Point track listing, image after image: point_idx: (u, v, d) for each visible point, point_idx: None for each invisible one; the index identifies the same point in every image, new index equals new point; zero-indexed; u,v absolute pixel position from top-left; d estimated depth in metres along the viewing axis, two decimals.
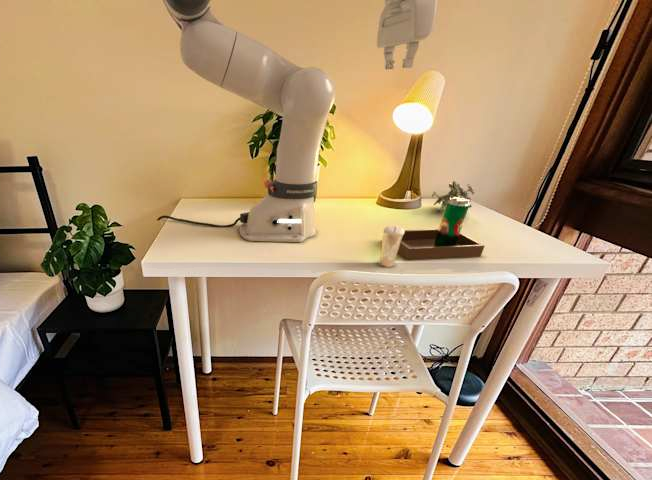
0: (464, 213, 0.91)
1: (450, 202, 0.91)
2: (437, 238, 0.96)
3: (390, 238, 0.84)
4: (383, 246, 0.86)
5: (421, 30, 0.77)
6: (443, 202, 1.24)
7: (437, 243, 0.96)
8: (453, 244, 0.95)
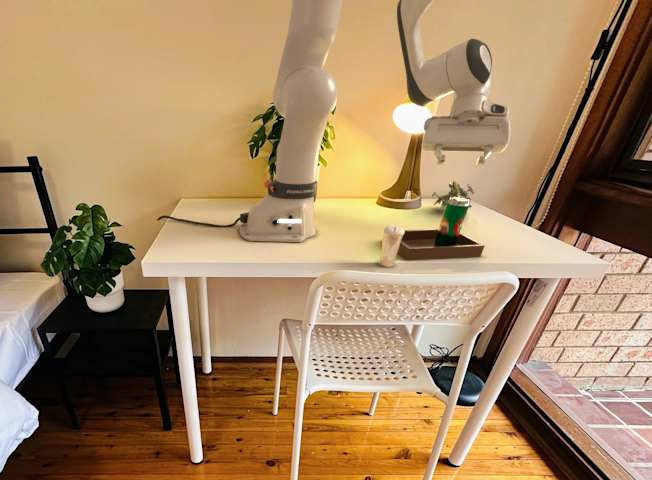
0: (464, 213, 0.91)
1: (450, 202, 0.91)
2: (437, 238, 0.96)
3: (390, 238, 0.84)
4: (383, 246, 0.86)
5: None
6: (443, 202, 1.24)
7: (437, 243, 0.96)
8: (453, 244, 0.95)
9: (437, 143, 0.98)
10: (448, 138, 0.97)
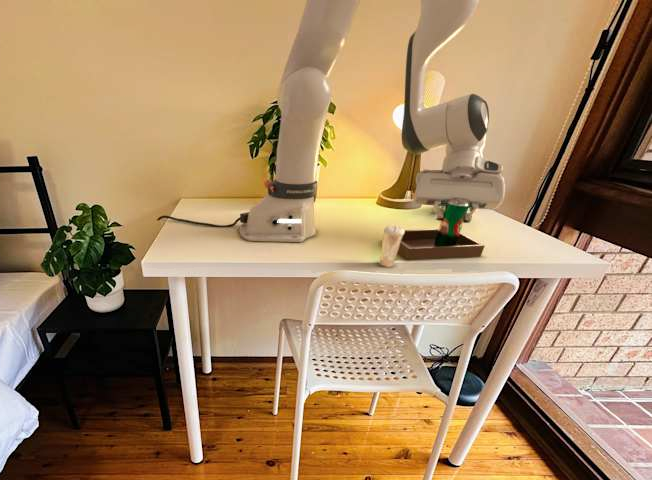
0: (464, 213, 0.91)
1: (450, 202, 0.91)
2: (437, 238, 0.96)
3: (390, 238, 0.84)
4: (383, 246, 0.86)
5: None
6: None
7: (437, 243, 0.96)
8: (453, 244, 0.95)
9: (429, 198, 0.94)
10: (440, 194, 0.93)
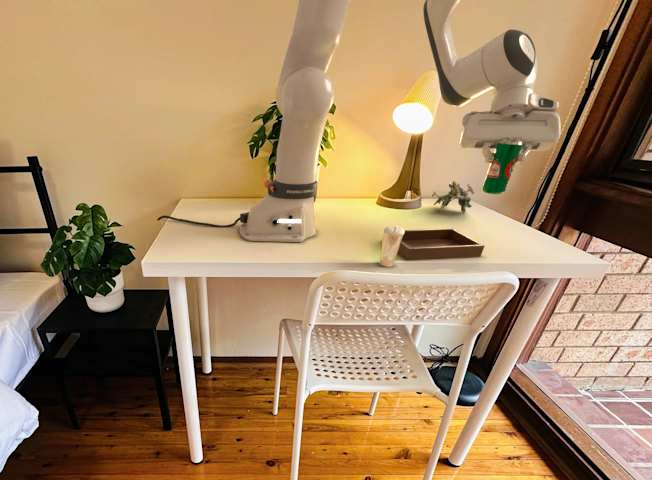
0: (518, 153, 0.86)
1: (502, 141, 0.86)
2: (486, 183, 0.92)
3: (390, 238, 0.84)
4: (383, 246, 0.86)
5: None
6: (443, 202, 1.24)
7: (486, 188, 0.92)
8: (503, 188, 0.91)
9: (478, 140, 0.90)
10: (491, 134, 0.89)
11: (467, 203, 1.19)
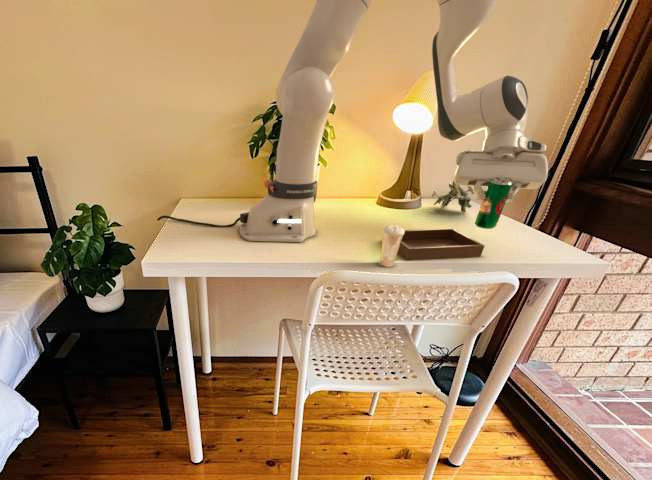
0: (508, 192, 0.92)
1: (493, 181, 0.92)
2: (478, 218, 0.98)
3: (390, 238, 0.84)
4: (383, 246, 0.86)
5: None
6: (443, 202, 1.24)
7: (478, 223, 0.98)
8: (494, 223, 0.96)
9: (471, 178, 0.96)
10: (483, 173, 0.95)
11: (467, 203, 1.19)
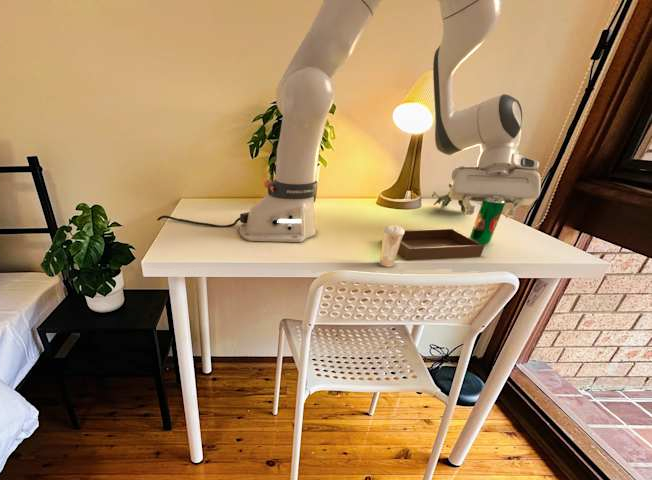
0: (501, 210, 0.94)
1: (487, 199, 0.95)
2: (472, 234, 1.00)
3: (390, 238, 0.84)
4: (383, 246, 0.86)
5: None
6: (443, 202, 1.24)
7: None
8: (488, 240, 0.99)
9: (466, 194, 0.98)
10: (477, 189, 0.97)
11: None
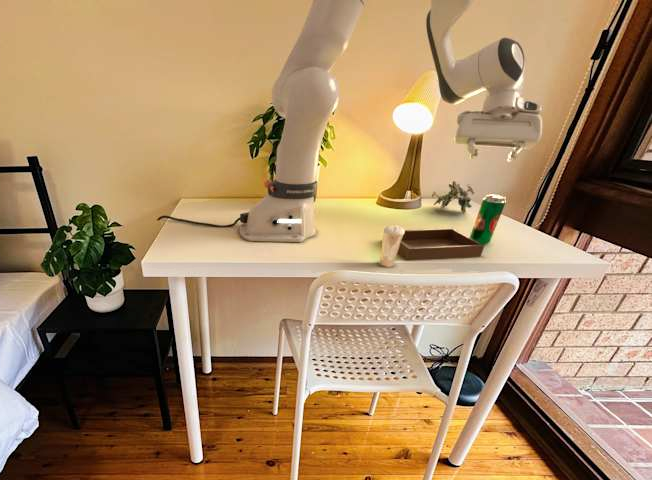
0: (501, 210, 0.94)
1: (487, 199, 0.95)
2: (472, 234, 1.00)
3: (390, 238, 0.84)
4: (383, 246, 0.86)
5: None
6: (443, 202, 1.24)
7: None
8: (488, 240, 0.99)
9: (471, 137, 1.01)
10: (482, 133, 1.00)
11: (467, 203, 1.19)
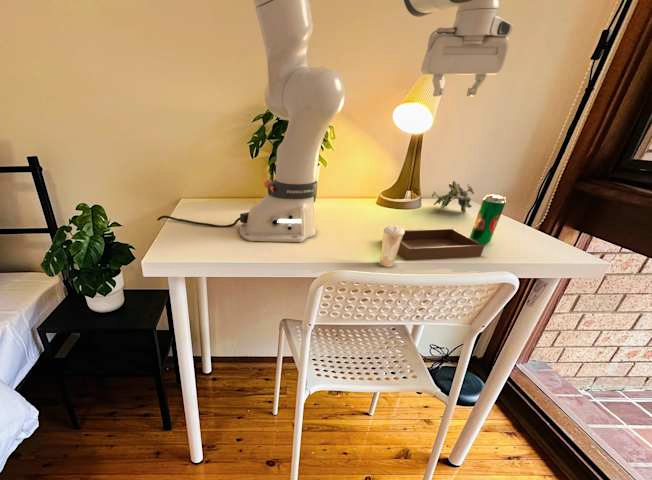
0: (501, 210, 0.94)
1: (487, 199, 0.95)
2: (472, 234, 1.00)
3: (390, 238, 0.84)
4: (383, 246, 0.86)
5: None
6: (443, 202, 1.24)
7: None
8: (488, 240, 0.99)
9: (438, 74, 0.93)
10: (450, 67, 0.92)
11: (467, 203, 1.19)
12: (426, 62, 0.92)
